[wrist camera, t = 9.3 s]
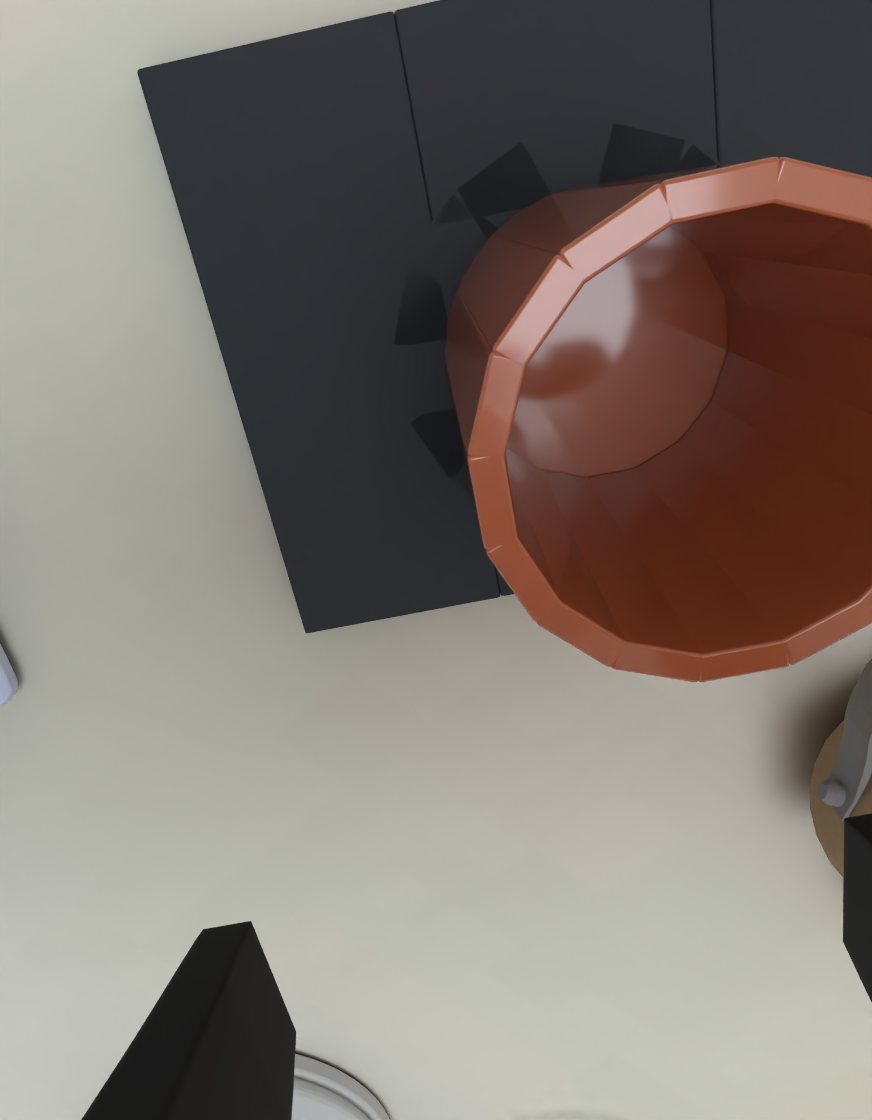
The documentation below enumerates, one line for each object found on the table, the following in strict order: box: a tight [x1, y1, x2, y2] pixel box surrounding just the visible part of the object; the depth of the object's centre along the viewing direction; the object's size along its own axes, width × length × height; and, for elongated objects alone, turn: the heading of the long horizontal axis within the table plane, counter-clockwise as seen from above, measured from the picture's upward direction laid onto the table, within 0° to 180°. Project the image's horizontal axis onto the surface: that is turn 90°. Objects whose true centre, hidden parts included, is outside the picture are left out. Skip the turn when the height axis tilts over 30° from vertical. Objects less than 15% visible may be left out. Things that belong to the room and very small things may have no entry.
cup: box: [444, 156, 872, 682], centre depth 12 cm, size 6×6×8 cm
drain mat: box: [138, 0, 872, 633], centre depth 15 cm, size 16×11×1 cm
